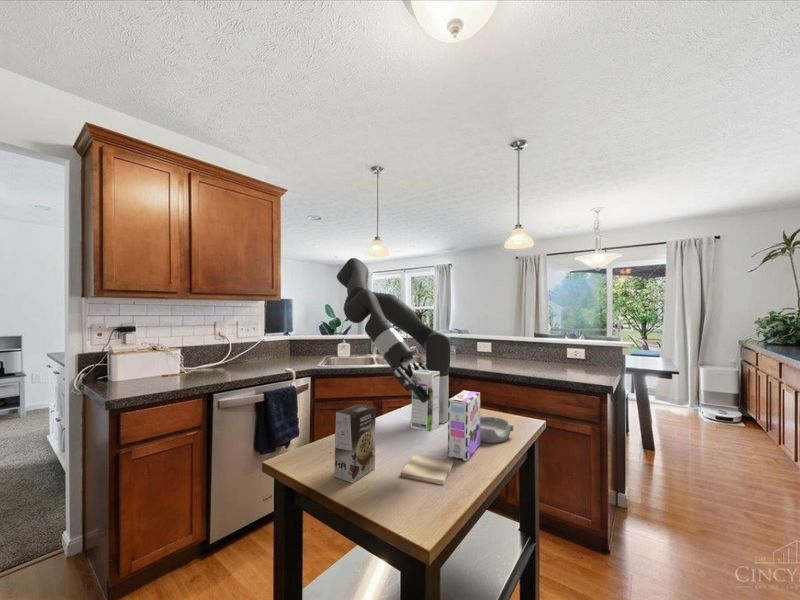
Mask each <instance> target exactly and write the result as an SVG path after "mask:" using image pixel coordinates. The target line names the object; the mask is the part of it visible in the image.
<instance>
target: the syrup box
mask: <svg viewBox="0 0 800 600" xmlns="http://www.w3.org/2000/svg"><path fill="white" fill-rule="evenodd" d="M414 374H415V375H416V377H417V378H416V379H417V381H418V382H419V385H420V386H421V387H422V388H423V389H424V391H425V392H426V393H427V395H428V396H429V399H428V400H427V401H426V402H424V403H422V402H421V400H420V399H419V398H418V396H417V395H416V394H415V392H414V391H413V392H412V391H411V414H410V415H411V416H410V417H411V419H410V428H411V429H415V430H420V431H425V432H430V433H432V431H434V430H435V429H437V427H439V424H440V423H439V378H440V371H428V370H416V371H415V372H414ZM413 382H414V381H413Z"/></svg>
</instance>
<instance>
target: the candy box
mask: <svg viewBox="0 0 800 600" xmlns="http://www.w3.org/2000/svg"><path fill="white" fill-rule="evenodd" d="M480 417H481V392H480V391H479V392H478V391H472V390H471V391H470V390H462V391H460V392H459V393H457V394H456V395H453V396H452V397H451V398H449V400H448V421H447V424H448V425H447V457H448V458H452V459H456V460H461V461H464V462H467V461H468V460H470V458H471V457H472V456H473V454H475V452H476V451H477V449H479V447H480V446H481V441H480Z"/></svg>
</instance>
